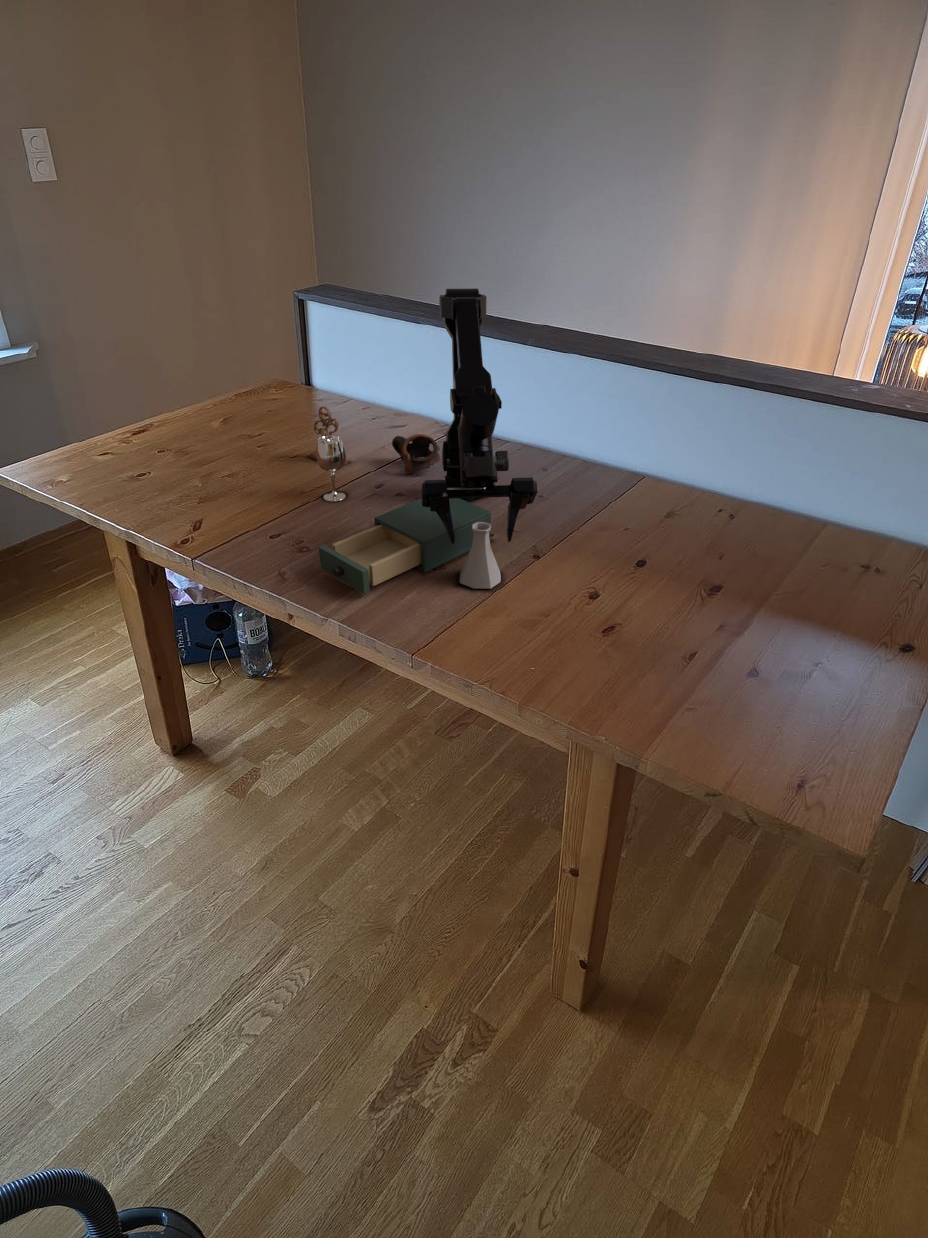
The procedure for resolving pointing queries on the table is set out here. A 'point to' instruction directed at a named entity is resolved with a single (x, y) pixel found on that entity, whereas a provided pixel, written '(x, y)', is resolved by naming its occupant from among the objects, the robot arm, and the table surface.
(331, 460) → the wineglass
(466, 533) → the cabinet
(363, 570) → the drawer
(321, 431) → the brown looped piece
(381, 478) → the table surface
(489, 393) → the robot arm
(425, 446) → the pottery mug
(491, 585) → the flask
